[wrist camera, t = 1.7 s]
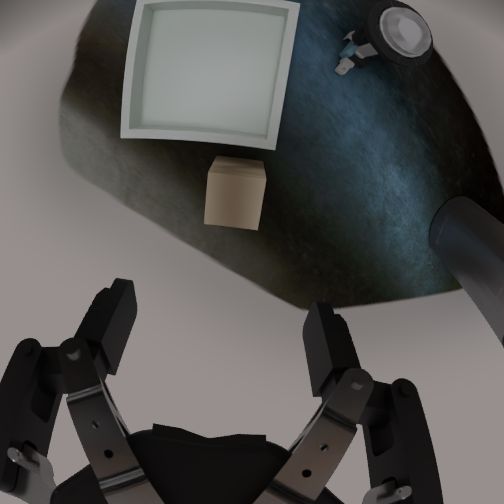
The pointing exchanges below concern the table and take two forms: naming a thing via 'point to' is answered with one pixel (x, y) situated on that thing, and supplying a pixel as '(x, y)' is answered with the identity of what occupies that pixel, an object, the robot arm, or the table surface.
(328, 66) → the table surface
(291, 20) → the tray
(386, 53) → the push button
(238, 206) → the pine block
